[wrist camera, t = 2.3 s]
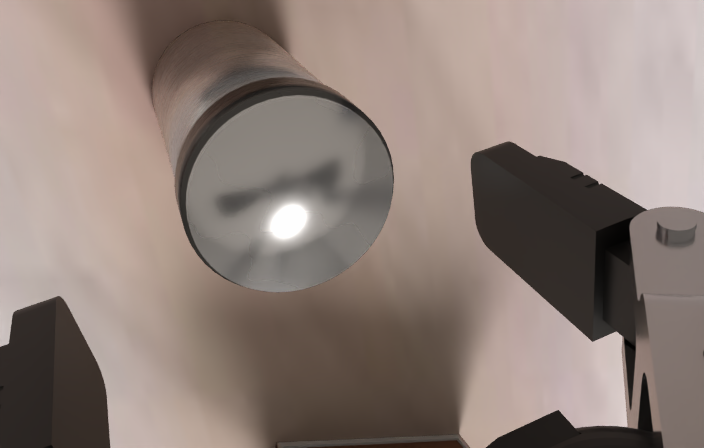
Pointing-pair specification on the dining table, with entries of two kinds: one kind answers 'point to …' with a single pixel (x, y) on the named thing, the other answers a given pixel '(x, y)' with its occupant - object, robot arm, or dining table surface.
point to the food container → (384, 442)
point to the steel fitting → (267, 160)
